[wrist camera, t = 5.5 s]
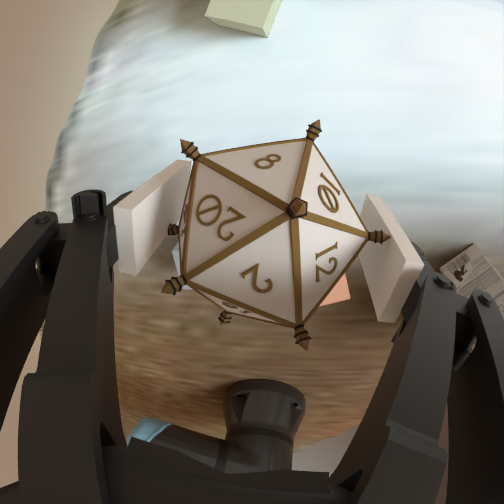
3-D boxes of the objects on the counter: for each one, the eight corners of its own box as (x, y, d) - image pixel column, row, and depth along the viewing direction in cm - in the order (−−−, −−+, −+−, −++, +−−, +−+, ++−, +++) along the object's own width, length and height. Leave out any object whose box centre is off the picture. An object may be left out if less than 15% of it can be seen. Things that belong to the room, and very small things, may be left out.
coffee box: (489, 285, 33) (538, 367, 20) (455, 308, 36) (495, 397, 22) (475, 240, 30) (540, 327, 17) (437, 267, 33) (487, 364, 20)
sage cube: (267, 37, 23) (262, 28, 19) (218, 25, 23) (204, 15, 19) (283, -4, 21) (281, -20, 16) (234, -15, 20) (223, -32, 16)
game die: (249, 192, 20) (107, 259, 14) (303, 78, 13) (98, 105, 7) (346, 296, 17) (219, 412, 12) (447, 204, 11) (324, 377, 5)
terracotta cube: (345, 272, 36) (350, 298, 31) (305, 282, 37) (306, 309, 33) (335, 237, 33) (340, 261, 29) (293, 248, 35) (292, 273, 31)
